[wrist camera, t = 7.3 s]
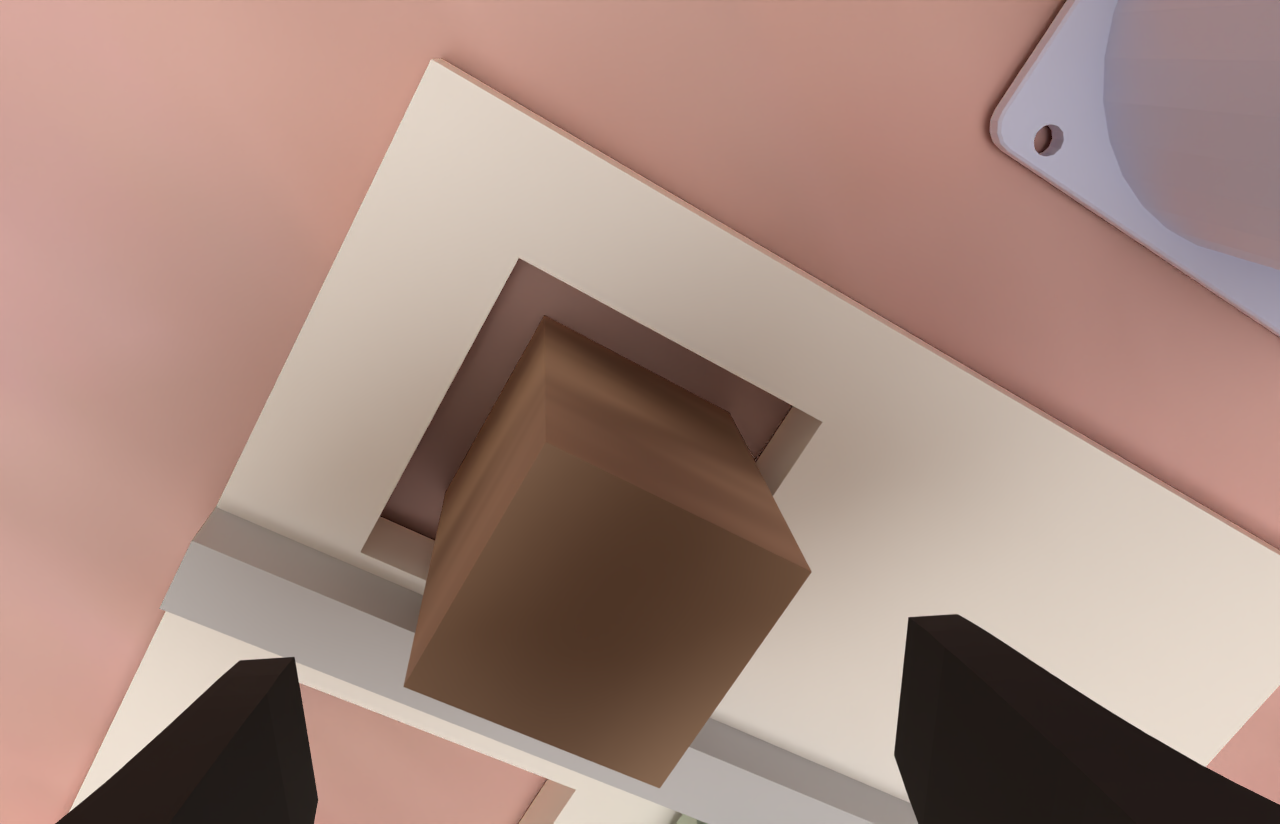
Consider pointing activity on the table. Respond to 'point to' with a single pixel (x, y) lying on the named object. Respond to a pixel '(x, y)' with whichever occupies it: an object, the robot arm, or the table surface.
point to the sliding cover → (689, 820)
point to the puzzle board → (790, 464)
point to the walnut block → (601, 561)
